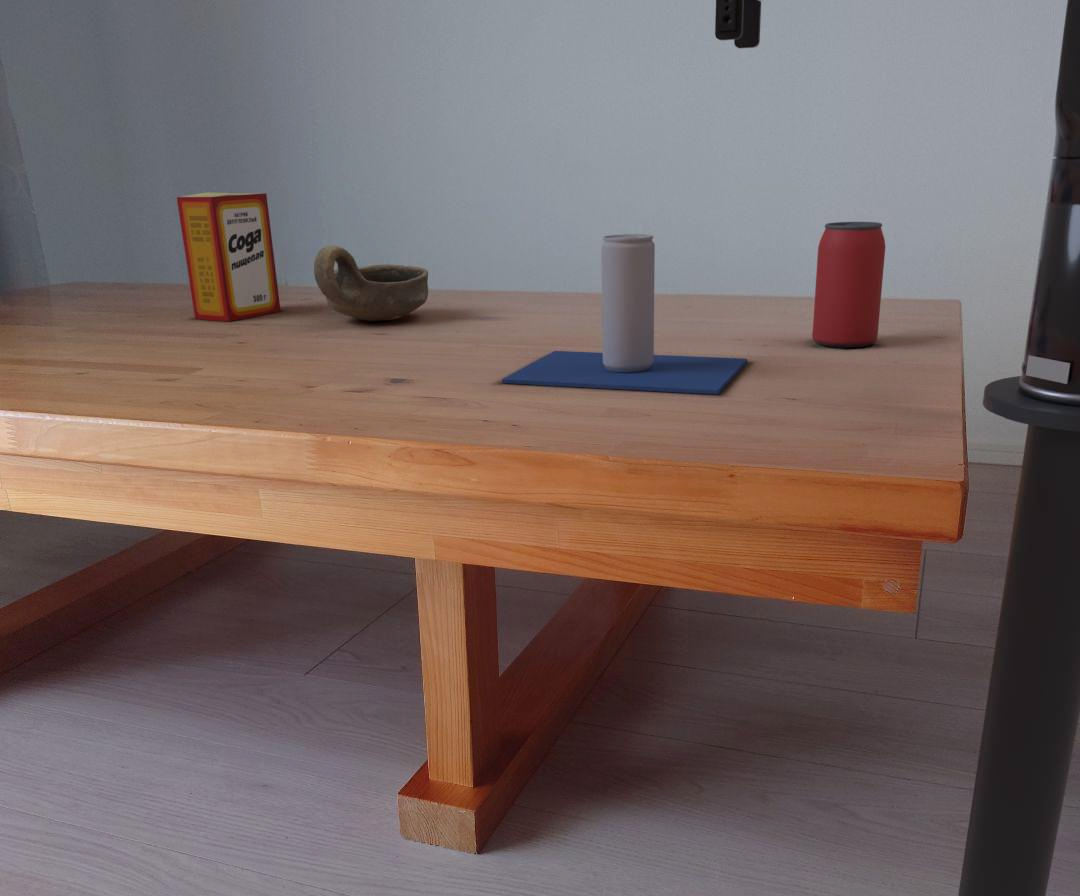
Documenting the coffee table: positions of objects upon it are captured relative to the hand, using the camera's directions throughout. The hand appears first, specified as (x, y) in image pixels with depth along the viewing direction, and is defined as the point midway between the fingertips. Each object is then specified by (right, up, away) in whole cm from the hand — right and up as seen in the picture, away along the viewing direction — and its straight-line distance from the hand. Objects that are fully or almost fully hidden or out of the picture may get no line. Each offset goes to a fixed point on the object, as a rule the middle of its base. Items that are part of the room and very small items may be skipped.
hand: (738, 43), depth 88 cm
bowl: (-39, -16, +41) cm, 59 cm away
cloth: (-9, -28, +7) cm, 30 cm away
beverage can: (-9, -28, +7) cm, 30 cm away
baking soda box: (-59, -13, +50) cm, 79 cm away
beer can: (+15, -23, +17) cm, 32 cm away
